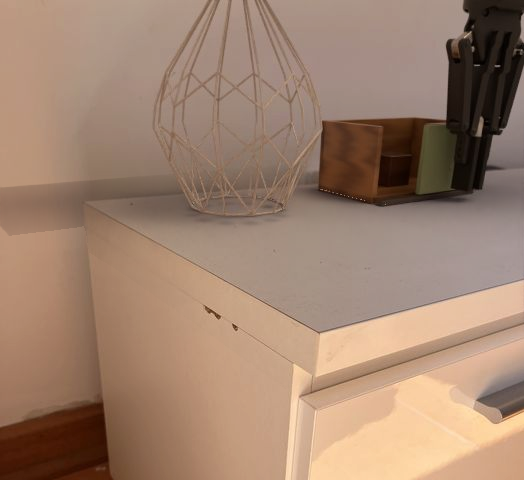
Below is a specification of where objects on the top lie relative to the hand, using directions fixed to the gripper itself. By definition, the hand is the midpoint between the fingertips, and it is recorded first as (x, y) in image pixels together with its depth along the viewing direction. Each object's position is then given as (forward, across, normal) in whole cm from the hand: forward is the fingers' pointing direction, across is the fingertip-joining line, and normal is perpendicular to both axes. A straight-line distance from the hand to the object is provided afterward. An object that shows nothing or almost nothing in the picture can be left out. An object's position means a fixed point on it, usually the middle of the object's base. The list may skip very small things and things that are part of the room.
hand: (466, 188), depth 73 cm
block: (+1, +3, -10) cm, 11 cm away
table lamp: (+2, +27, -12) cm, 30 cm away
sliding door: (+1, +1, -2) cm, 2 cm away
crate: (+1, +3, -10) cm, 10 cm away
